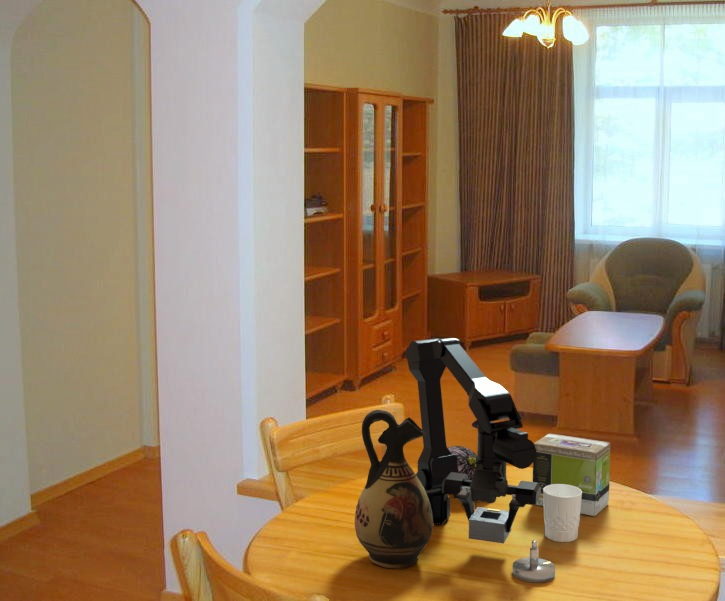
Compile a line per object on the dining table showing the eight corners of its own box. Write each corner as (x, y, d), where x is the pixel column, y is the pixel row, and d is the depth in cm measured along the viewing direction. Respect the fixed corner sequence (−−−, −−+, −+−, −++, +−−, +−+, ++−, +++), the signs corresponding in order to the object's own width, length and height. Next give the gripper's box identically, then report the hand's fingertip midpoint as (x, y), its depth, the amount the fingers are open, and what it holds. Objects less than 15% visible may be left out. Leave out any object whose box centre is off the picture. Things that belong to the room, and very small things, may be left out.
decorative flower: (460, 469, 217) (435, 432, 229) (440, 512, 220) (416, 473, 233) (514, 478, 223) (487, 441, 235) (493, 519, 226) (467, 481, 239)
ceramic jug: (430, 543, 201) (432, 401, 196) (434, 576, 185) (436, 423, 181) (348, 542, 201) (347, 401, 196) (344, 575, 186) (344, 422, 181)
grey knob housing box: (468, 538, 193) (469, 518, 192) (477, 525, 199) (477, 506, 198) (503, 543, 190) (504, 523, 189) (511, 530, 197) (511, 510, 196)
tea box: (609, 504, 222) (612, 441, 220) (594, 518, 214) (597, 453, 212) (547, 491, 230) (549, 431, 228) (530, 504, 222) (532, 442, 220)
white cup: (580, 545, 200) (582, 498, 198) (541, 542, 201) (542, 495, 200) (580, 530, 207) (581, 485, 206) (542, 527, 209) (543, 482, 207)
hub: (508, 579, 184) (509, 546, 183) (517, 562, 191) (517, 530, 190) (551, 585, 181) (552, 552, 180) (558, 568, 189) (559, 536, 188)
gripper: (434, 460, 188) (433, 538, 190) (531, 472, 181) (529, 551, 184) (450, 444, 198) (449, 517, 200) (542, 454, 192) (539, 529, 194)
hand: (490, 529), depth 194 cm, fingers closed on grey knob housing box, 7 cm apart
